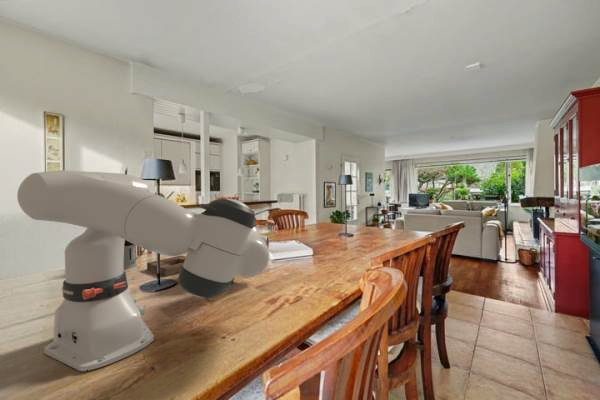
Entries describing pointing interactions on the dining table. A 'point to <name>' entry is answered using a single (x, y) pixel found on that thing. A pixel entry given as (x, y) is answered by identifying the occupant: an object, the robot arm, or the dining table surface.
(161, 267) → the walnut collar
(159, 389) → the dining table surface
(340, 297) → the dining table surface
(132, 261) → the glass holder
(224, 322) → the dining table surface
